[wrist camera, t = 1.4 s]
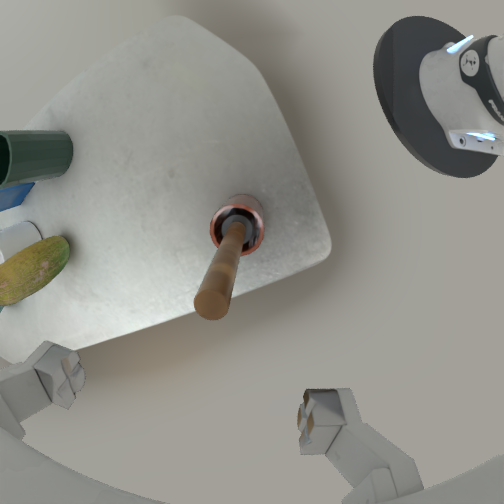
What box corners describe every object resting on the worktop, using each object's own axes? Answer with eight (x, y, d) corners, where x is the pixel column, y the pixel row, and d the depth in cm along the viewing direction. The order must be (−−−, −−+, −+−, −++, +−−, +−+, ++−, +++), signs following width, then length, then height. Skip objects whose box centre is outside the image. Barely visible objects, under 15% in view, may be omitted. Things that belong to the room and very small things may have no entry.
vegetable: (66, 220, 36) (-28, 265, 17) (88, 250, 38) (0, 311, 19) (50, 243, 38) (-34, 292, 19) (71, 271, 39) (-8, 333, 20)
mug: (20, 274, 40) (-12, 296, 30) (5, 236, 38) (-30, 253, 28) (50, 255, 38) (12, 279, 29) (33, 212, 36) (-8, 228, 26)
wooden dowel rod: (256, 204, 34) (245, 280, 13) (253, 230, 35) (240, 335, 14) (230, 202, 34) (179, 273, 13) (228, 227, 35) (180, 327, 14)
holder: (265, 196, 34) (266, 206, 27) (261, 237, 36) (261, 258, 28) (222, 192, 34) (211, 201, 27) (220, 233, 36) (208, 253, 29)
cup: (74, 128, 32) (13, 126, 19) (72, 176, 34) (11, 189, 22) (43, 133, 32) (-15, 135, 19) (41, 178, 34) (-16, 191, 22)
